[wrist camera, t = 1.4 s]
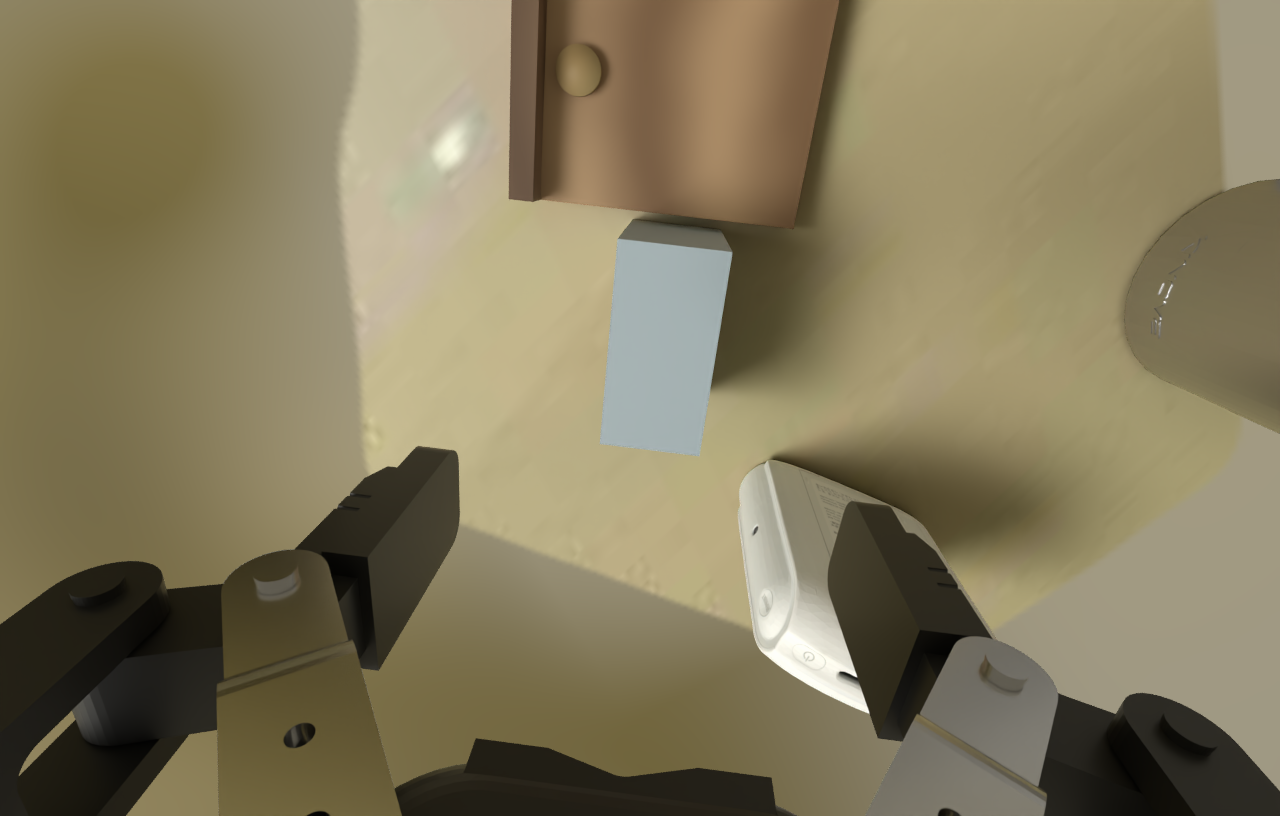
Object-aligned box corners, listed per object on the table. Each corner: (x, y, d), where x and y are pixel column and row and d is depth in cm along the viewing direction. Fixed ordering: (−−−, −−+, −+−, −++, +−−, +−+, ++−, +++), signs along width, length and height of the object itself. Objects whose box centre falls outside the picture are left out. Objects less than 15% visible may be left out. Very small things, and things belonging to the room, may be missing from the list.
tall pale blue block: (720, 229, 27) (732, 252, 20) (695, 391, 30) (699, 456, 23) (632, 219, 27) (617, 238, 20) (617, 382, 30) (600, 443, 23)
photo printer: (723, 508, 32) (744, 697, 21) (758, 444, 31) (803, 612, 19) (887, 573, 33) (993, 788, 22) (930, 515, 32) (1070, 714, 20)
